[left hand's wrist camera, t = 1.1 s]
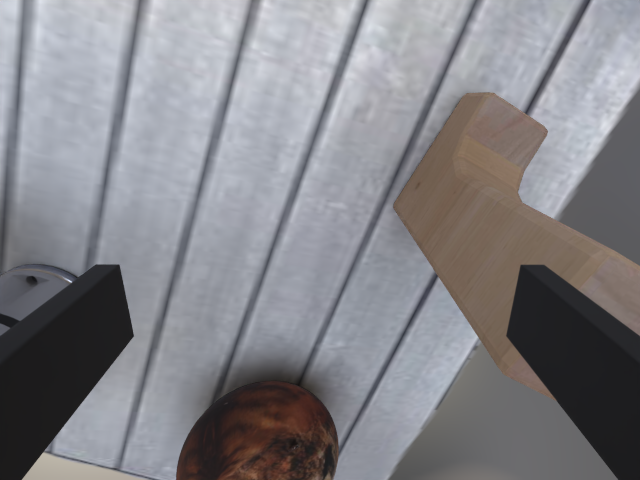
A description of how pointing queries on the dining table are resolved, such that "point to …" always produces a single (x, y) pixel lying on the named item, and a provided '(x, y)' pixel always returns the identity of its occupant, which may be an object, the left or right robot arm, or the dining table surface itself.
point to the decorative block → (501, 228)
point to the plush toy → (262, 437)
